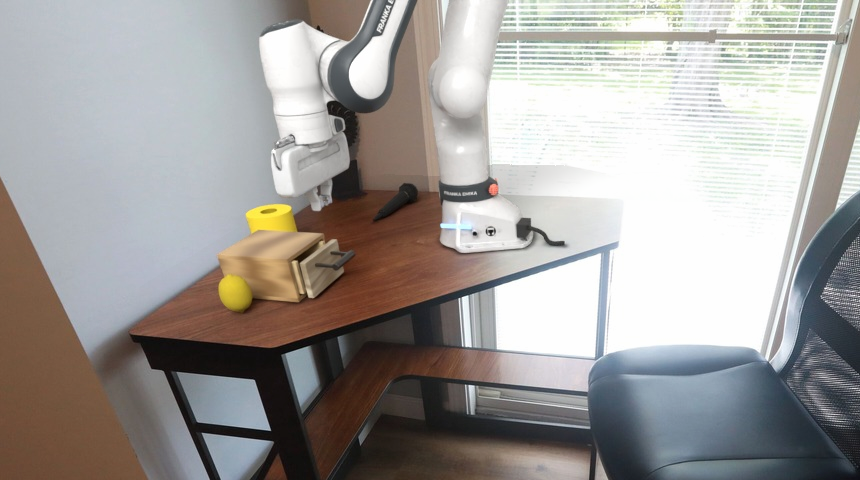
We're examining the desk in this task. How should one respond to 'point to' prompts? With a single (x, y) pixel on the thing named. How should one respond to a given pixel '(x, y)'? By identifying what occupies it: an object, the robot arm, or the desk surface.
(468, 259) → the desk surface
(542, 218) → the desk surface
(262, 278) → the cabinet
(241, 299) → the lemon
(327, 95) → the robot arm
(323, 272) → the drawer
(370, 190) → the desk surface
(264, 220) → the tape roll
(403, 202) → the microphone
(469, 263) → the desk surface
